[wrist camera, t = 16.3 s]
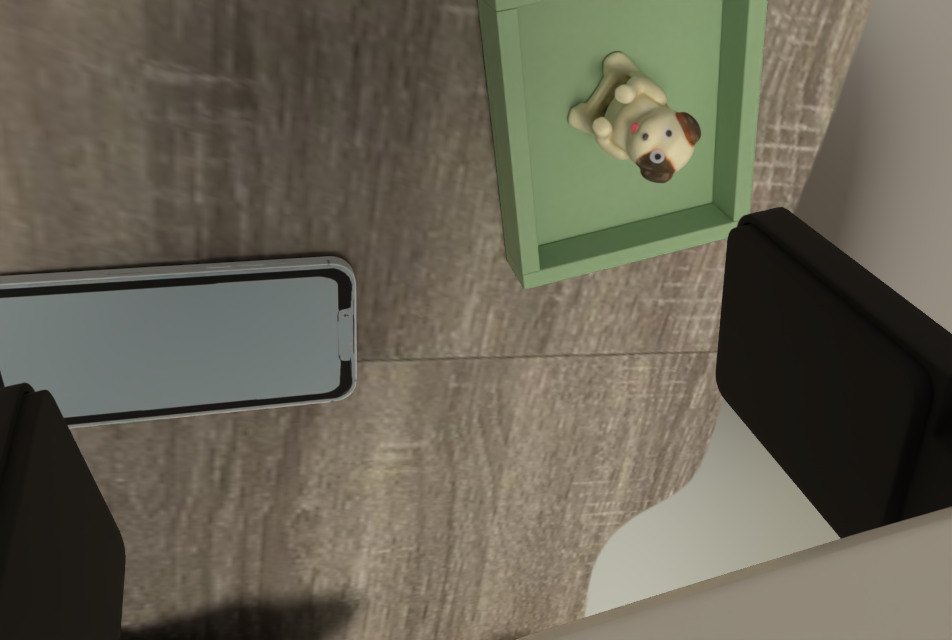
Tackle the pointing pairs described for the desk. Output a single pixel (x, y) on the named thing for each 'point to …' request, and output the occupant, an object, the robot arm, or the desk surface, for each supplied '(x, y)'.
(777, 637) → the robot arm
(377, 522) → the desk surface
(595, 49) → the tray
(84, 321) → the smartphone
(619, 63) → the toy dog
